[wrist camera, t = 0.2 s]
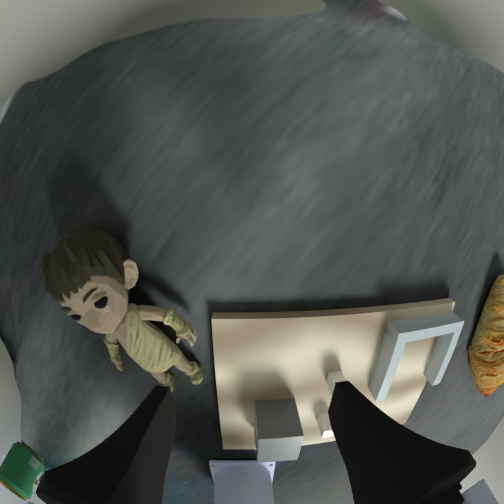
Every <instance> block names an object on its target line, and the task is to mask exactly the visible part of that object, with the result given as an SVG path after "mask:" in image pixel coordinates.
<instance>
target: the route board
mask: <svg viewBox="0 0 504 504" xmlns="http://www.w3.org/2000/svg"><path fill="white" fill-rule="evenodd" d="M454 304H455V302H454V301H453V300H451V299H450V298H446V299H438V300H430V301H422V302H414V303H405V304H395V305H385V306H374V307H362V308H348V309H332V310H314V311H290V312H213V313H212V335H213V349H214V362H215V375H216V386H217V397H218V407H219V417H220V426H221V435H222V443H223V449H255V440H254V421H255V400H276V399H290V398H295V402H296V406H297V410H298V414H299V418H300V422H301V426H302V430H303V434H304V437H303V441H302V445H309V444H317V443H323V442H329V441H335V437H334V436H332V437H326V438H322V437H321V434H320V431H319V427H318V424H317V417H318V413H326V412H328V409H329V406H330V402H331V398H332V395H331V393H330V390H329V388H328V385H327V383H326V381H327V377H328V372H333V371H341V370H342V372H343V374H344V376H345V378H346V380H347V381H349V382H350V383H351V384H353V385H354V386H355V387H356V388H357V389H358V390H359V391H360V392H361V393H362V394H363V395H364V396H365V397H367V398H368V399H369V400H370V401H371V402H372V403H373V404H374V405H376V406H377V407H378V408H379V409H380V410H382V411H383V412H384V413H385V414H387V415H388V416H389V417H391V418H392V419H394V420H395V421H396V422H398V423H399V424H404V423H405V422H406V421H407V419H408V417H409V415H410V413H411V411H412V410H413V408H414V406H415V404H416V402H417V400H418V398H419V396H420V394H421V392H422V390H423V388H424V385H425V383H426V381H427V379H426V377H425V376H424V372H425V370H426V368H427V365H428V363H429V360H430V358H431V355H432V352H433V350H434V347H435V344H436V341H437V339H438V336H436V337H431V338H426V339H422V340H417V341H412V342H406V344H405V347H404V350H403V353H402V356H401V359H400V362H399V364H398V367H397V370H396V373H395V375H394V378H393V381H392V383H391V386H390V388H389V391H388V393H387V395H386V398H385V400H380V401H375V400H374V398H373V396H372V394H371V392H370V391H369V389H368V387H369V384H370V381H371V378H372V375H373V372H374V369H375V366H376V363H377V359H378V356H379V353H380V349H381V346H382V342H383V338H384V335H385V331H386V327H387V323H388V321H396V320H403V319H410V318H417V317H424V316H430V315H436V314H442V313H447V312H452V311H453V308H454Z"/></svg>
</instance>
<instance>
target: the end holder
mask: <svg viewBox="0 0 504 504" xmlns="http://www.w3.org/2000/svg"><path fill="white" fill-rule="evenodd" d="M463 324H464V320H463V319H462V318H460V317H459V316H458V315H456V314H455V313H454V312H447V313H442V314H436V315H430V316H424V317H417V318H410V319H403V320H396V321H388V323H387V327H386V331H385V335H384V338H383V342H382V346H381V349H380V353H379V356H378V359H377V363H376V366H375V369H374V372H373V375H372V378H371V381H370V384H369V387H368V389H369V391H370V392H371V394H372V396H373V398H374V400H375V401H380V400H385V398H386V395H387V393H388V391H389V388H390V386H391V383H392V381H393V378H394V375H395V373H396V370H397V367H398V364H399V362H400V359H401V356H402V353H403V350H404V347H405V344H406V342H412V341H417V340H422V339H426V338H431V337H436V336H438V339H437V341H436V344H435V347H434V350H433V352H432V355H431V358H430V360H429V363H428V365H427V368H426V370H425V372H424V376H425V377H426V379H427V380H428V381H429V382H430V384H431V385H432V386H434V385H437V384H439V383H440V381H441V379H442V376H443V374H444V372H445V370H446V368H447V365H448V363H449V361H450V358H451V356H452V353H453V351H454V348H455V346H456V343H457V341H458V338H459V335H460V332H461V330H462V327H463Z"/></svg>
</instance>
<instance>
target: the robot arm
mask: <svg viewBox="0 0 504 504" xmlns="http://www.w3.org/2000/svg"><path fill="white" fill-rule="evenodd" d="M328 415H329V420H330V424H331V428H332V432H333V434H334V437H335V440H336V442H337V445H338V447H339V450H340V453H341V455H342V458H343V460H344V463H345V465H346V468H347V472H348V475H349V479H350V484H351V488H352V493H353V498H354V504H498V502H497V500H496V498H495V497H494V495H493V494H492V492H491V490H490V489H489V487H488V485H487V484H486V482H485V481H484V479H482V480H481V481H479V482H478V483H476V484H475V485H474V486H472V487H471V488H469V489H468V490H466V491H465V492H464V493H462V494H461V493H460V491H459V490H461V489H462V486H461V484H460V482H461V481H462V480H463V479H464V478H465V477H466V476H467V475H468V474H469V473H470V472H471V471H472V470H473V469H474V468H475V466H476V461H475V460H474V458H473V457H472V455H471V454H470V452H469V451H468V450H465V449H460V448H455V447H451V446H447V445H444V444H441V443H438V442H435V441H432V440H430V439H428V438H425V437H423V436H421V435H419V434H417V433H415V432H413V431H411V430H409V429H408V428H406V427H404V426H403V425H401V424H399V423H398V422H396V421H395V420H394V419H392V418H391V417H389V416H388V415H387V414H385V413H384V412H383V411H382V410H380V409H379V408H378V407H377V406H376V405H374V404H373V403H372V402H371V401H370V400H369V399H368V398H367V397H365V396H364V395H363V394H362V393H361V392H360V391H359V390H358V389H357V388H356V387H355V386H354V385H353V384H351V383H350V382H349V381H341V382H336V383H335V387H334V391H333V395H332V398H331V402H330V406H329V409H328ZM176 421H177V414H176V410H175V407H174V403H173V398H172V394H171V390H170V387H168V386H157V385H156V386H155V387H154V388H153V390H152V391H151V392H150V393H149V395H148V396H147V397H146V399H145V400H144V401H143V402H142V403H141V405H140V406H139V407H138V408H137V409H136V410H135V411H134V413H133V414H132V415H131V416H130V417H129V418H128V419H127V420H126V421H125V422H124V423H123V424H122V425H121V426H120V427H119V428H118V429H117V430H116V431H115V432H114V433H113V434H112V435H110V436H109V437H108V438H107V439H105V440H104V441H103V442H102V443H100V444H99V445H97V446H96V447H95V448H93V449H92V450H90V451H89V452H87V453H85V454H84V455H82V456H80V457H78V458H76V459H74V460H72V461H70V462H68V463H66V464H64V465H61V466H58V467H56V468H53V469H50V470H47V471H45V473H44V474H43V476H42V478H41V480H40V483H39V485H38V487H37V490H36V494H37V496H38V497H39V498H40V499H41V500H42V501H44V502H45V503H46V504H162V497H163V487H164V479H165V473H166V469H167V465H168V461H169V457H170V453H171V449H172V445H173V441H174V437H175V430H176ZM275 463H276V462H259V463H257V460H210V461H209V466H210V470H211V474H212V478H213V483H214V504H274V498H273V490H272V480H273V475H274V469H275ZM27 504H33V503H31V502H28V503H27Z"/></svg>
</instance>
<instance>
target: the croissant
mask: <svg viewBox="0 0 504 504" xmlns="http://www.w3.org/2000/svg"><path fill="white" fill-rule="evenodd" d="M468 354H469V357H470V361H469V366H470V371H471V374H472V376H473V378H474V382H475V384H476V385H477V389H478V391H479V393H480V394H483V395H484V396H486V397H488V396H489V395H490V394H492V393H493V392H494V390H496V388H497V387H498V386H499V385H501V384H503V383H504V274H503V275H499V276H498V277H497V278H496V280H495V282H494V284H493V286H492V288H491V290H490V293H489V296H488V298H487V300H486V302H485V304H484V307H483V310H482V312H481V317H480V319H479V322H478V324H477V327H476V331H475V333H474V336H473V339H472V342H471V345H470V346H469V349H468Z"/></svg>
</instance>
